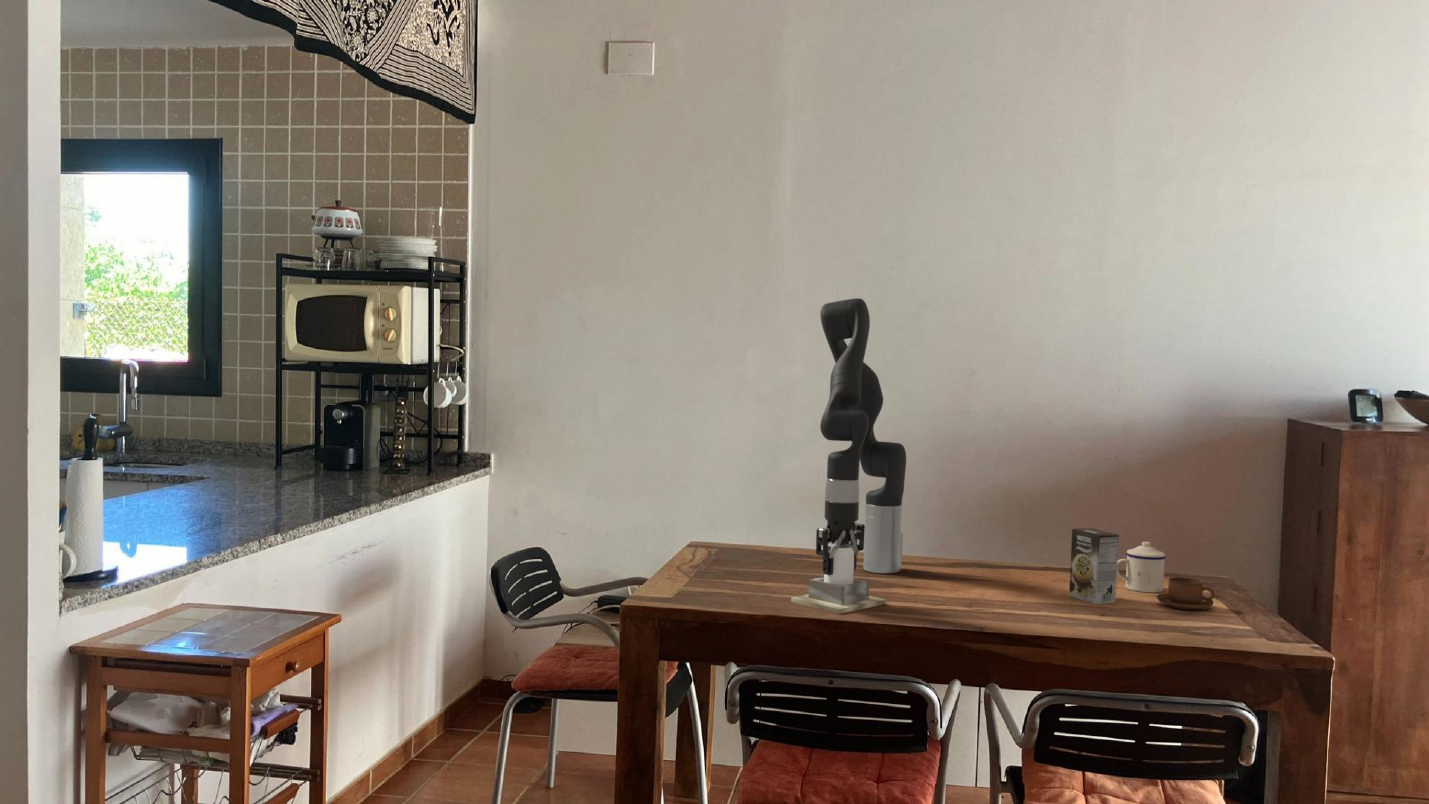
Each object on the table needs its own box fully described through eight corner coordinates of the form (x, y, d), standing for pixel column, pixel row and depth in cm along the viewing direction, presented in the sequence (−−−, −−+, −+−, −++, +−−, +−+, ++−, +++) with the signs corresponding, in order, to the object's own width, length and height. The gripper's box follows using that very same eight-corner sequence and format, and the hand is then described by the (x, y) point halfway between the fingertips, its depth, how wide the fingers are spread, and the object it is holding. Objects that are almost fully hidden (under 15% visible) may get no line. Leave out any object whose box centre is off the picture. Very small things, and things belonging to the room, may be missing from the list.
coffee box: (1067, 596, 264) (1070, 528, 263) (1088, 594, 266) (1092, 527, 265) (1094, 604, 255) (1098, 534, 254) (1116, 603, 258) (1120, 533, 257)
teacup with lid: (1155, 586, 279) (1158, 539, 278) (1169, 593, 270) (1172, 546, 269) (1107, 584, 279) (1109, 538, 278) (1120, 592, 270) (1122, 544, 269)
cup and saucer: (1207, 603, 261) (1208, 577, 260) (1218, 615, 249) (1219, 587, 249) (1152, 599, 263) (1153, 573, 263) (1161, 610, 252) (1162, 583, 251)
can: (851, 602, 245) (853, 548, 244) (821, 600, 246) (823, 546, 246) (853, 596, 251) (855, 543, 251) (824, 594, 253) (826, 542, 252)
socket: (837, 592, 260) (838, 571, 259) (885, 604, 249) (886, 581, 249) (790, 602, 249) (791, 579, 248) (839, 614, 238) (839, 590, 238)
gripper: (849, 494, 256) (847, 566, 256) (807, 499, 246) (805, 573, 247) (875, 498, 250) (873, 571, 251) (833, 503, 240) (831, 579, 241)
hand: (839, 572), depth 249 cm, fingers open, 7 cm apart
